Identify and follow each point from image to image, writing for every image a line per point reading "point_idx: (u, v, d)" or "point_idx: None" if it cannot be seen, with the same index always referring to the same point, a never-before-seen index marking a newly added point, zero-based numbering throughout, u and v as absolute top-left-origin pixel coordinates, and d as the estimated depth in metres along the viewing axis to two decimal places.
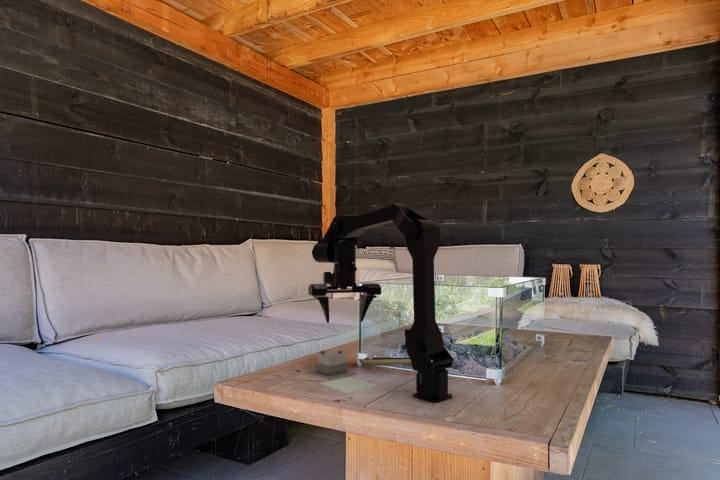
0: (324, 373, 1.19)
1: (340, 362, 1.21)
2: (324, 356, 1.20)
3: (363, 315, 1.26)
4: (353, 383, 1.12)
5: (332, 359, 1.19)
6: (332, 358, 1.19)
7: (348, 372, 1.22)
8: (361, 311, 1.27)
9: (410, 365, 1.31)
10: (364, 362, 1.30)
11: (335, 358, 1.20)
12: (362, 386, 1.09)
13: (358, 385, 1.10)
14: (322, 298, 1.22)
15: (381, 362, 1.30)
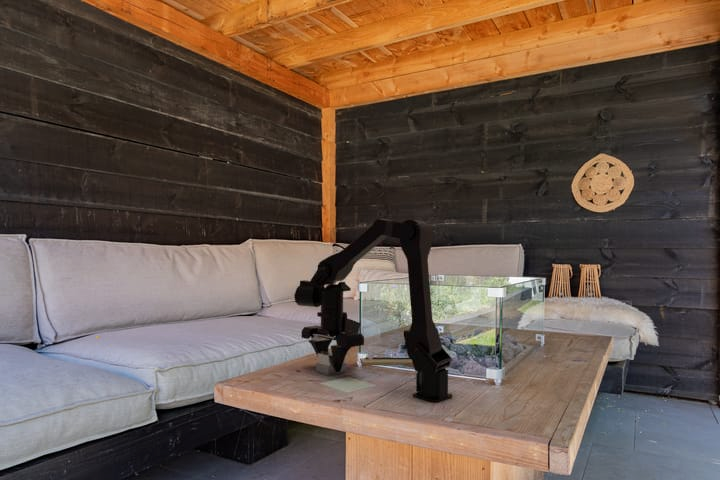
0: (324, 373, 1.19)
1: None
2: (324, 356, 1.20)
3: (335, 365, 1.19)
4: (353, 383, 1.12)
5: (332, 359, 1.19)
6: (332, 358, 1.19)
7: (348, 372, 1.22)
8: None
9: (410, 365, 1.31)
10: (363, 362, 1.30)
11: None
12: (362, 386, 1.09)
13: (358, 385, 1.10)
14: (311, 342, 1.23)
15: (380, 362, 1.31)
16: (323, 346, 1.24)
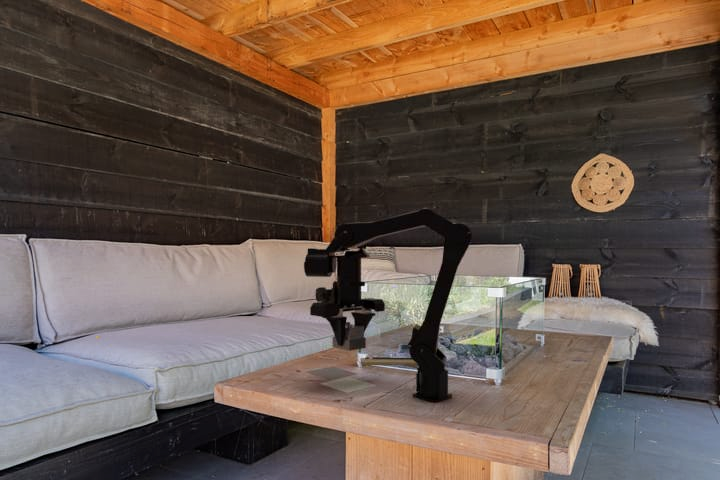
0: (360, 346, 1.10)
1: None
2: (358, 329, 1.09)
3: None
4: (353, 383, 1.12)
5: None
6: None
7: (348, 372, 1.22)
8: None
9: (409, 366, 1.31)
10: (362, 361, 1.31)
11: None
12: (362, 386, 1.09)
13: (358, 385, 1.10)
14: (341, 318, 1.06)
15: (379, 362, 1.31)
16: None
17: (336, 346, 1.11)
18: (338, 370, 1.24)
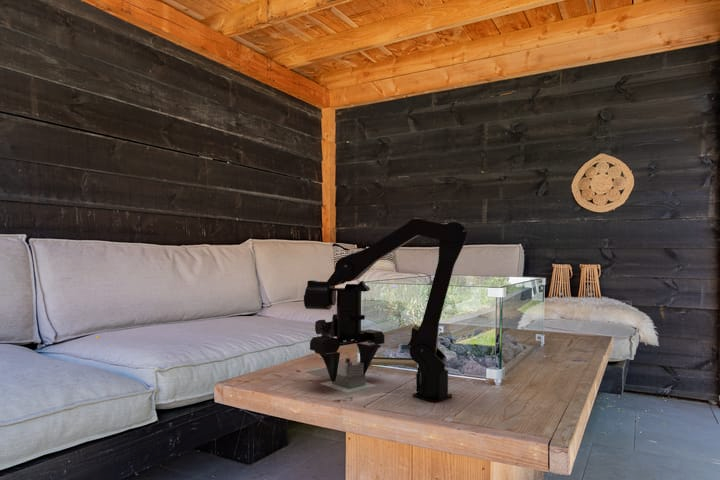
0: (360, 384, 1.09)
1: None
2: (357, 366, 1.09)
3: (366, 367, 1.13)
4: None
5: None
6: None
7: None
8: None
9: (408, 366, 1.30)
10: None
11: None
12: (362, 386, 1.09)
13: None
14: (334, 355, 1.04)
15: (378, 362, 1.31)
16: None
17: (335, 383, 1.10)
18: None
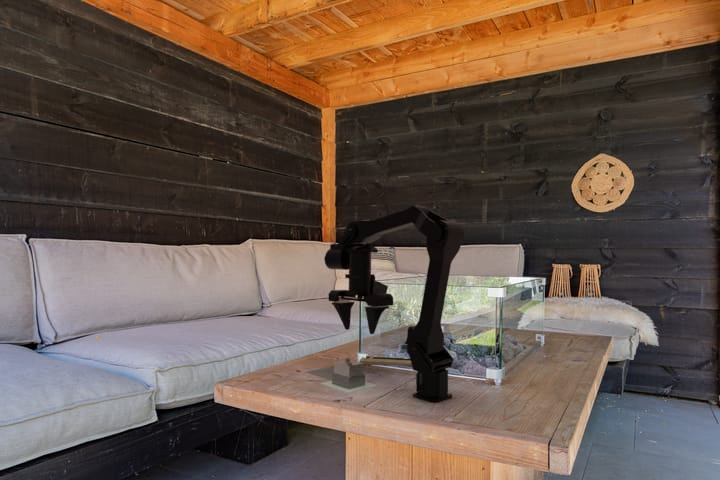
0: (360, 384, 1.09)
1: None
2: (357, 366, 1.09)
3: (369, 327, 1.17)
4: None
5: None
6: None
7: None
8: None
9: (407, 366, 1.30)
10: (361, 360, 1.32)
11: None
12: (362, 386, 1.09)
13: None
14: (333, 304, 1.25)
15: (377, 361, 1.31)
16: (346, 308, 1.25)
17: (335, 383, 1.10)
18: None
